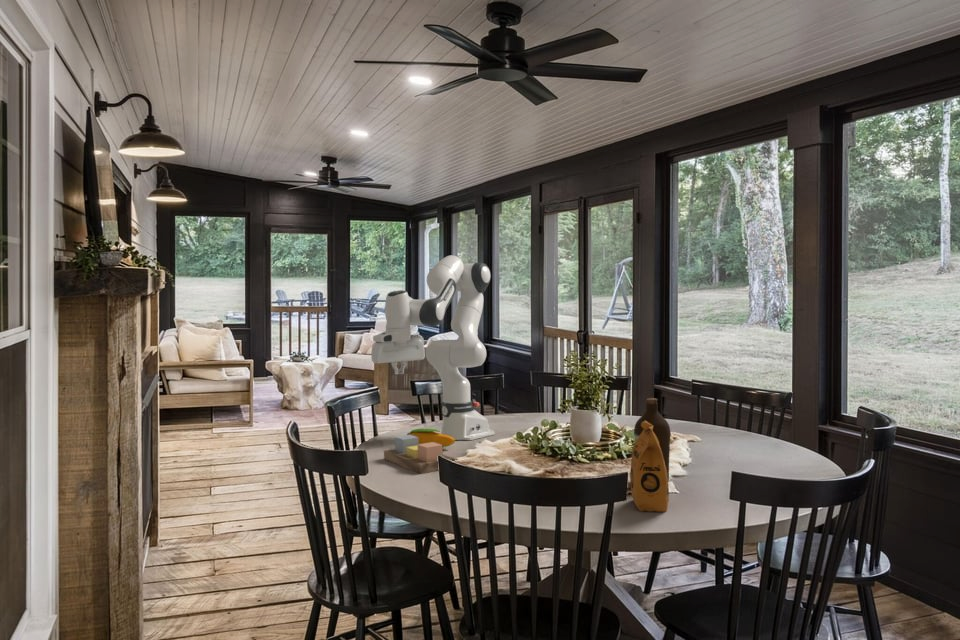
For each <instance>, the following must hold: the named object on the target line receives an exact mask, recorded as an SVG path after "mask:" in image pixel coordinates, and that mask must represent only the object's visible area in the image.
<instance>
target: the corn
mask: <svg viewBox="0 0 960 640" xmlns="http://www.w3.org/2000/svg"><path fill="white" fill-rule="evenodd" d="M406 435H413V436H416V437H418V442H419V444H424V443H430V442H434V443H438V444H441V445H442V448H445V447H450V446H452V445H454V444H455V442H456V440H455V439H454V438H452V437H451V436H449V435H444V434H441V430H439V429H433V428H417V429H416V428H415V429H412V430H411V431H409V432H408V433H407V434H406Z"/></svg>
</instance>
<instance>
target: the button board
mask: <svg viewBox="0 0 960 640" xmlns="http://www.w3.org/2000/svg"><path fill="white" fill-rule="evenodd" d="M443 456H444V457H445V458H447V459H450V460H452V461H455V462H456V458H454V457H451V456H449V455H446V454H443ZM385 459H386V460H385ZM383 460H385V461H388V460H389V461H388V462H390V461H391V462H390V463H392V464H395V463H396V464H395V465H398V466H400V467H403V468H405V469H407V468H408V470H410V471H413V472H416V473H418V474H420V475H422V474H423V475H424V474H428V473H434V472H438V461H432V462H424V461H421V460H419V459H418V457H417V458H413V457H411V456H408V455H406V453H404V454H403V453H400V452H397V451H395V448H393V449H386V450H383Z"/></svg>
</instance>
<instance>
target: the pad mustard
mask: <svg viewBox="0 0 960 640" xmlns="http://www.w3.org/2000/svg"><path fill="white" fill-rule="evenodd" d="M406 455H408V456H411V457H413V458H417V457H418V445H417V446H410V447H406Z"/></svg>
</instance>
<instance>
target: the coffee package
mask: <svg viewBox="0 0 960 640" xmlns="http://www.w3.org/2000/svg"><path fill="white" fill-rule="evenodd" d="M641 427H643V428H644V429H643V431H642V433H641V434H640V436H639V437H638V439H637V440H636V442H635V441H634V444H633V447H632V450H631V451H632V452H631V461H630V470H629V471H630V473H629V474H630V475H629V477H630V478H629V480H630V491H631V492H630V493H631V497H632V500H633V503H634V504H635V506H636V508H637V510H638V511H640V512H655V513H656V512H659V513H660V512H661V513H663V512H664V513H666V512H667V510H668V503H669V499H670V498H669V497H670V492H669V491H670V489H669V482H668V476H667V469H666V466H665V462H664V458H663V455H662V451H661V448H660V445H659V441H658V439H657V437H656V435H655V434H654V432H653V431H652V430H653V425H652V424H650V423H648V422H647V421H644V422H642V423H641Z"/></svg>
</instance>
